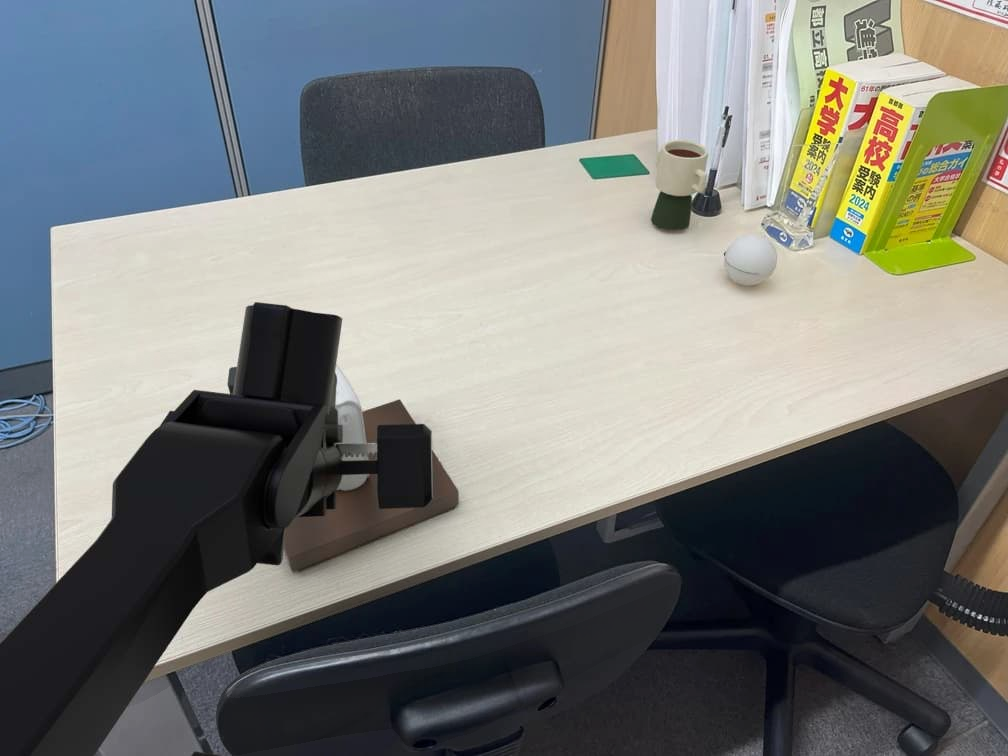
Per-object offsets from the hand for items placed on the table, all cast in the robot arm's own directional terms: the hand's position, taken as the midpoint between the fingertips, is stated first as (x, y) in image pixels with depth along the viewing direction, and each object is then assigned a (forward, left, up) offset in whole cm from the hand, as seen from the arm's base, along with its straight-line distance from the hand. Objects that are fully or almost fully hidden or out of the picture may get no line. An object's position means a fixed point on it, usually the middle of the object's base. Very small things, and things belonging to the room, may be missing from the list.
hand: (325, 463), depth 61 cm
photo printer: (+3, +8, -9) cm, 12 cm away
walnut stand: (+3, +6, -11) cm, 13 cm away
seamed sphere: (+66, +17, -11) cm, 69 cm away
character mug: (+68, +35, -11) cm, 77 cm away
